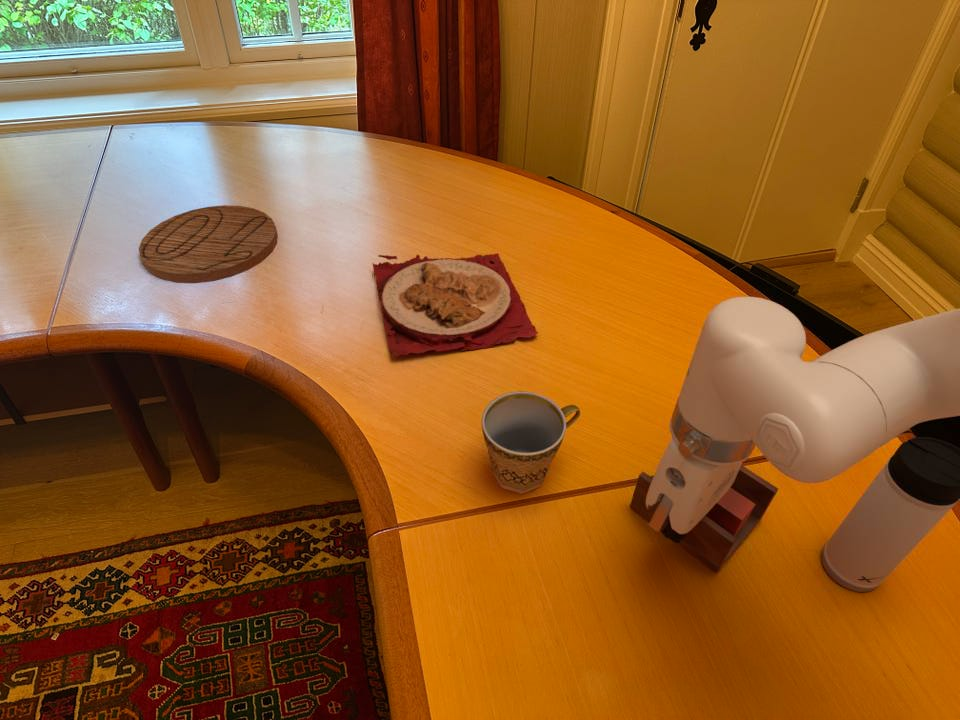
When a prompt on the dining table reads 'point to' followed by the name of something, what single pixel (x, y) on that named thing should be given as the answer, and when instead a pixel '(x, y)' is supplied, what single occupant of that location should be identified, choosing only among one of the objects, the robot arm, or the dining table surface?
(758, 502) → the open wooden box
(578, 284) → the dining table surface
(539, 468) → the ceramic cup
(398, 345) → the plate with food
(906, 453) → the travel mug
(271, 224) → the trivet
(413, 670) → the dining table surface
